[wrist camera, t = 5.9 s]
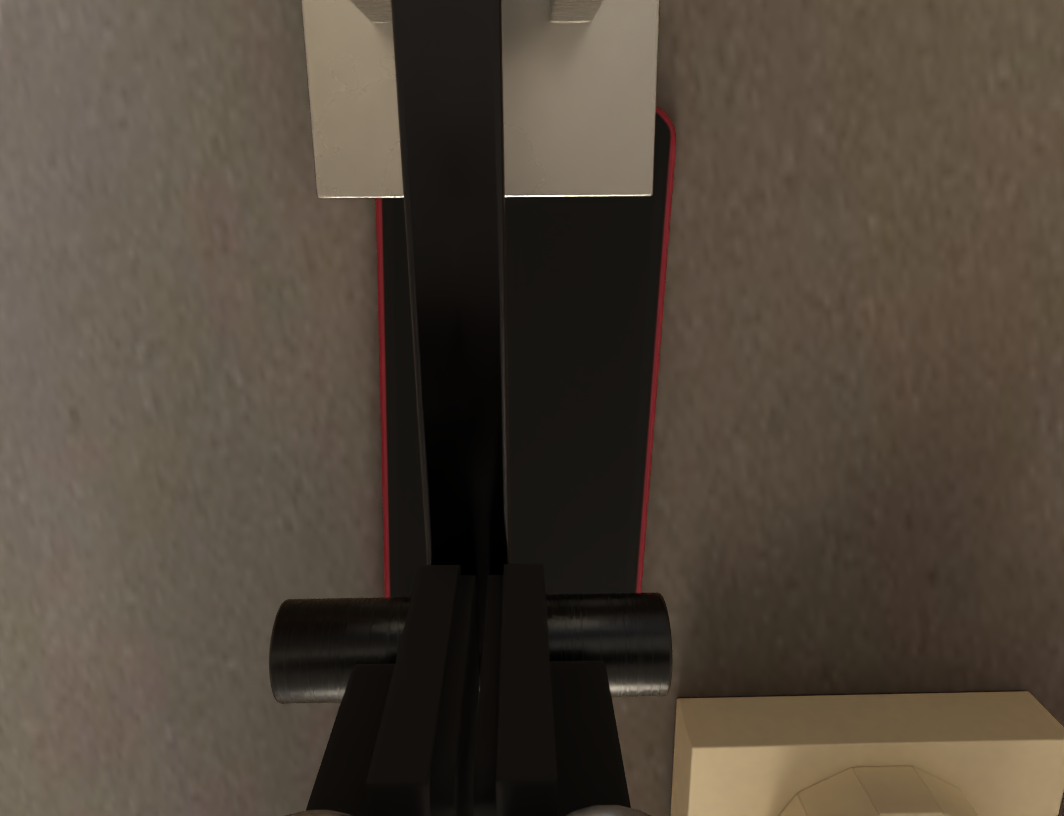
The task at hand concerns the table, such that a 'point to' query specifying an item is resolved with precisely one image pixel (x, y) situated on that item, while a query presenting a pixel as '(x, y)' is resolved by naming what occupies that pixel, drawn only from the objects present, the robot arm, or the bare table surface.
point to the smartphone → (550, 383)
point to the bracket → (529, 97)
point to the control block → (868, 756)
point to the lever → (460, 378)
